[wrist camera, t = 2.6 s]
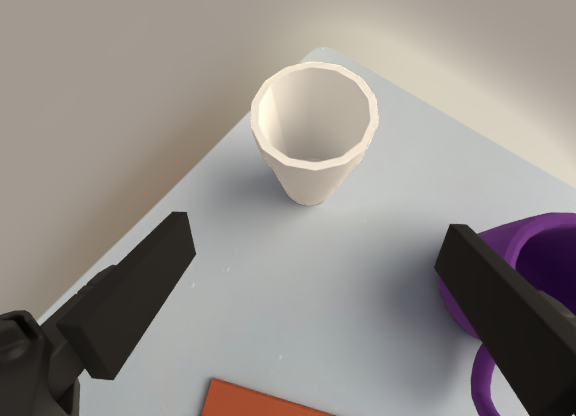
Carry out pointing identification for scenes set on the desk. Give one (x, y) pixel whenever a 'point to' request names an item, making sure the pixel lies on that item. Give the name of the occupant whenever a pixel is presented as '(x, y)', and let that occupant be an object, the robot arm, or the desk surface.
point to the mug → (534, 269)
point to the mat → (249, 403)
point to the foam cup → (313, 127)
